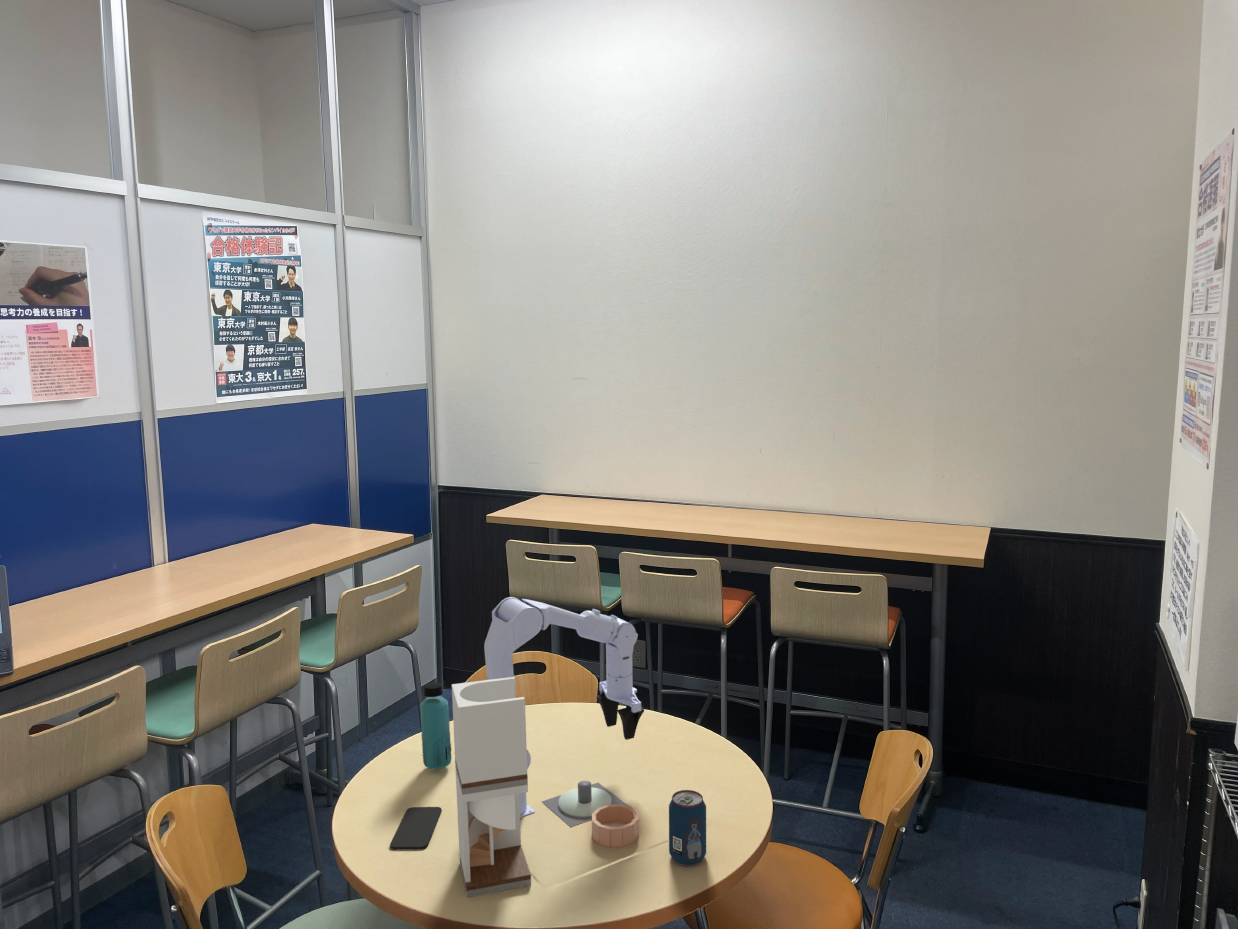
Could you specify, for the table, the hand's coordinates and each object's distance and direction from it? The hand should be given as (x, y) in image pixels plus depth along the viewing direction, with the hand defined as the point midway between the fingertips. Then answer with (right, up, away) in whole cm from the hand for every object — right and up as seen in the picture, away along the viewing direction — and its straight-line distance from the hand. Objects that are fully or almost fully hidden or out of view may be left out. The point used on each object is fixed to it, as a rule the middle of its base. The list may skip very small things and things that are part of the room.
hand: (620, 731), depth 200 cm
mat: (-7, -12, -11) cm, 18 cm away
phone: (-41, -14, -19) cm, 47 cm away
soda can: (+13, -15, -30) cm, 36 cm away
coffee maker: (-23, -16, -35) cm, 44 cm away
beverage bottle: (-41, -10, +5) cm, 43 cm away
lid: (-7, -12, -12) cm, 18 cm away
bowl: (-1, -14, -23) cm, 26 cm away
